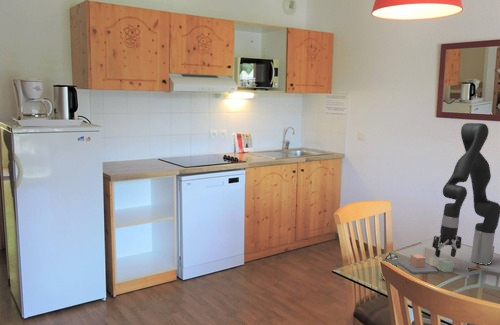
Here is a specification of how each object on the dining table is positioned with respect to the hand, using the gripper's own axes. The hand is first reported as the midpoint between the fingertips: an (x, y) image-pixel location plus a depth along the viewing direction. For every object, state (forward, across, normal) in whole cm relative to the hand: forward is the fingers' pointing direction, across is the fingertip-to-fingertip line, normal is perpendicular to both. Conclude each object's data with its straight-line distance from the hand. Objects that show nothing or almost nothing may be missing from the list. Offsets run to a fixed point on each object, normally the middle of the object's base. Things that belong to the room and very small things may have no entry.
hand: (445, 256), depth 216 cm
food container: (+8, +32, +6) cm, 34 cm away
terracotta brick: (+6, +12, -4) cm, 14 cm away
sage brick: (+7, -1, 0) cm, 7 cm away
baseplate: (+7, +12, -4) cm, 15 cm away
